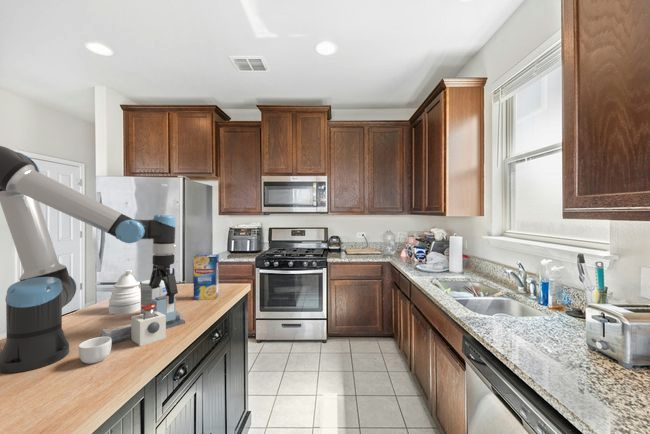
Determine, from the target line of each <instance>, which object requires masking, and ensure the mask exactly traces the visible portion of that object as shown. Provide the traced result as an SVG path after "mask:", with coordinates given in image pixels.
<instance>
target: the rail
mask: <svg viewBox="0 0 650 434" xmlns="http://www.w3.org/2000/svg"><path fill="white" fill-rule="evenodd" d="M185 323H186V320H185V319H184V314H183V313H181V312H179V311H176V319H174V320H170V321H167V322H166V329H169V328H172V327H176V326H180V325H184V324H185ZM100 337H110V338H111V339H112V344H111V345H113V344H114V345H115V344H118V343H120V342H125V341H127V340H131V323H129V324H127V325H122V326H119V327H115V328H110V329H107V328H103V329H101V333H100Z"/></svg>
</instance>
